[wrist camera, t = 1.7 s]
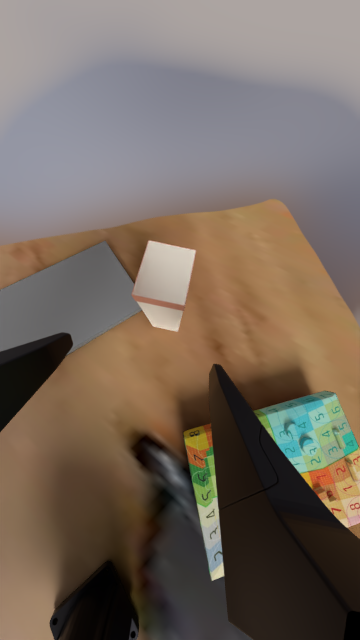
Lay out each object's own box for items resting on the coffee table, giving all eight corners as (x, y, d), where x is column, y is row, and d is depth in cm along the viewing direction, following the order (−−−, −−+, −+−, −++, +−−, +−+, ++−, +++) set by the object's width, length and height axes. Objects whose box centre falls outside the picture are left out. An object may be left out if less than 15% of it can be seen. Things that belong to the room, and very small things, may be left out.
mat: (-9, 400, 18) (-19, 403, 17) (-41, 315, 21) (-51, 313, 20) (148, 306, 23) (147, 303, 22) (107, 245, 25) (105, 240, 24)
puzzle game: (399, 518, 14) (214, 597, 12) (344, 478, 19) (202, 531, 17) (344, 395, 17) (184, 442, 15) (307, 386, 21) (181, 421, 19)
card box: (178, 331, 22) (184, 306, 10) (152, 326, 22) (131, 294, 10) (184, 302, 23) (196, 250, 12) (160, 297, 23) (148, 239, 12)
